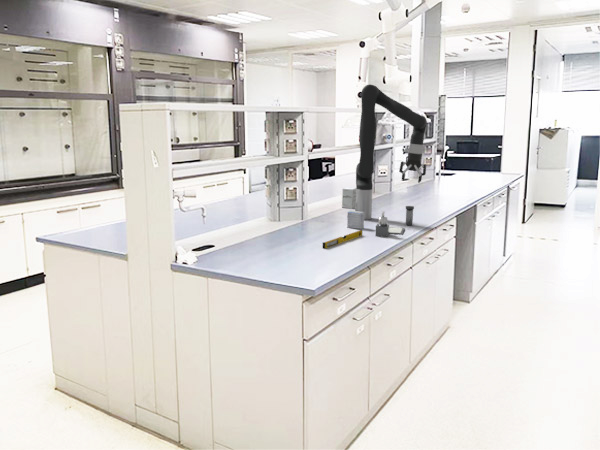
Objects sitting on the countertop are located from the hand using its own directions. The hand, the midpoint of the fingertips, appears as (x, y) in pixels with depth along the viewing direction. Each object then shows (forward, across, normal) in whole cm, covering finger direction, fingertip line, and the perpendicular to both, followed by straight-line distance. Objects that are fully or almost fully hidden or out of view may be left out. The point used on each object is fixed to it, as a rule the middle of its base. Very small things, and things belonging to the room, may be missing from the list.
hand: (411, 181), depth 294 cm
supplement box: (+27, +41, -34) cm, 60 cm away
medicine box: (+26, +22, +26) cm, 43 cm away
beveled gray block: (+24, +6, +40) cm, 47 cm away
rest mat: (+24, +2, +28) cm, 37 cm away
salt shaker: (+23, -3, +10) cm, 25 cm away
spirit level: (+26, +20, +60) cm, 68 cm away
